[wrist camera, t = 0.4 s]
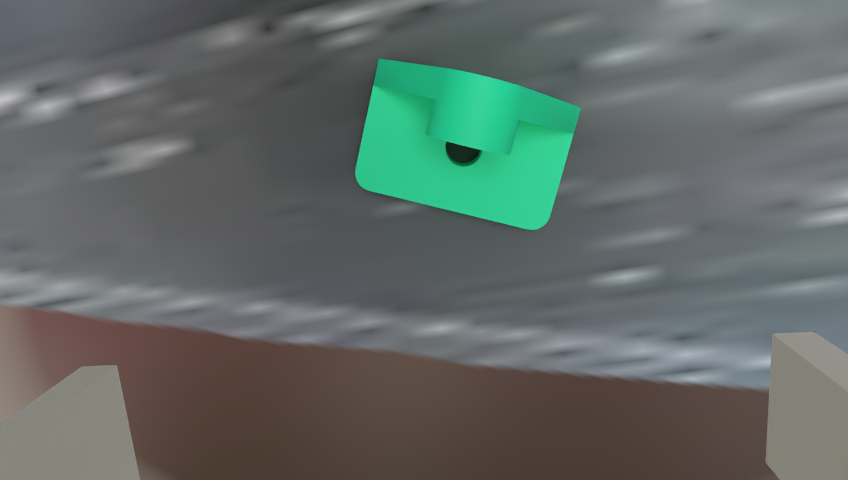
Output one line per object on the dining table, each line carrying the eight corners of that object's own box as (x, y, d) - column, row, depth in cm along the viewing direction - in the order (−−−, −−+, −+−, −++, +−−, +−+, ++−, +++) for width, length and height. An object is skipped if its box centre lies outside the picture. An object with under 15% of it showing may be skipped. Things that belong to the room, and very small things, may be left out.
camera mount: (358, 181, 40) (325, 206, 30) (384, 61, 38) (358, 45, 28) (539, 225, 40) (566, 265, 30) (572, 107, 38) (614, 107, 28)
